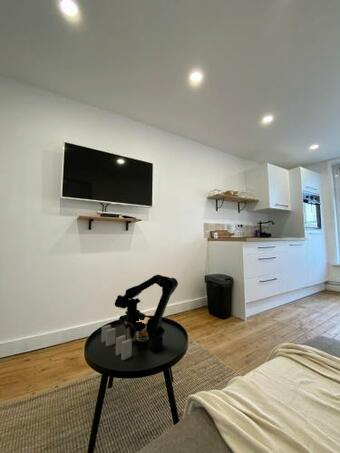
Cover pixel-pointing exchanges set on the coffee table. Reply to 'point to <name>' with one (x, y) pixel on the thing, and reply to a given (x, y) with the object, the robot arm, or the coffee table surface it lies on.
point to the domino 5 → (130, 335)
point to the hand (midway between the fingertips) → (131, 337)
